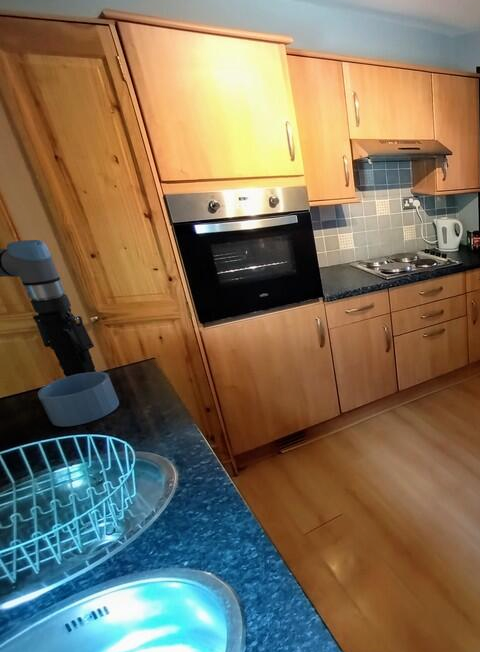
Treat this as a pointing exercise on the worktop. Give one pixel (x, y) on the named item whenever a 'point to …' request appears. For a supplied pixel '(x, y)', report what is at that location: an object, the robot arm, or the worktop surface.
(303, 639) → the worktop surface
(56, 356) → the robot arm
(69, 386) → the blue round bowl
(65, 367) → the handle grip
